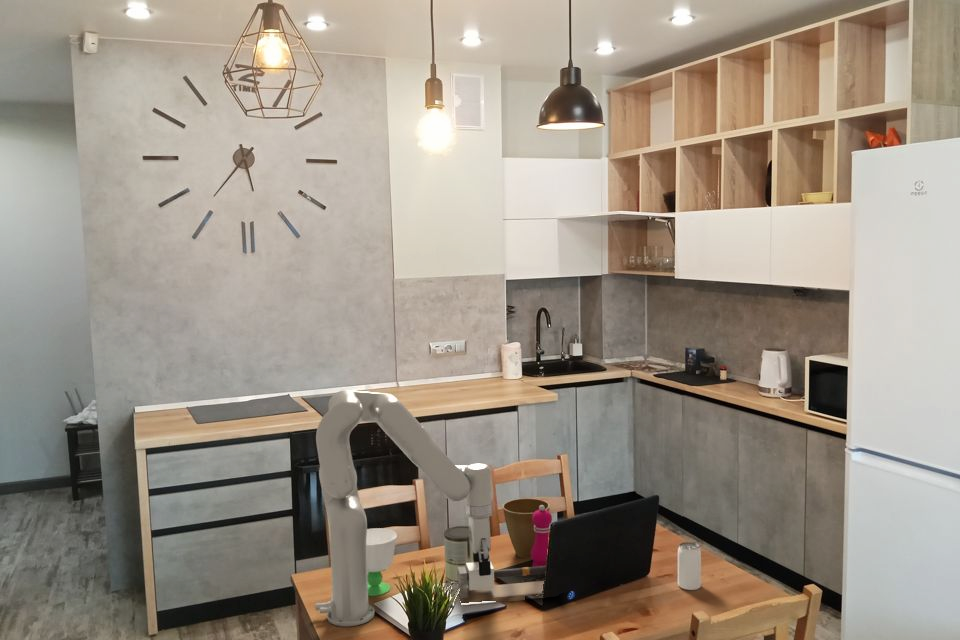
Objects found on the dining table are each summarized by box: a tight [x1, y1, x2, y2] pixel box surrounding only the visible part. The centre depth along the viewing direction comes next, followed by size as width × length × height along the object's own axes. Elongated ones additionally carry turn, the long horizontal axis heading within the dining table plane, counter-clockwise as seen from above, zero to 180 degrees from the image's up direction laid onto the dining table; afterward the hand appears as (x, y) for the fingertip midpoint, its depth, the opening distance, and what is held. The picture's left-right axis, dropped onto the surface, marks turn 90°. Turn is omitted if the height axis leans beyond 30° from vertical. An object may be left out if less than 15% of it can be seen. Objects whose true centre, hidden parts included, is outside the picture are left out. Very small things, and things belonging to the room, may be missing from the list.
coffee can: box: [443, 525, 474, 585], centre depth 239 cm, size 10×10×14 cm
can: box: [677, 541, 702, 591], centre depth 230 cm, size 6×6×12 cm
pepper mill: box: [531, 505, 553, 567], centre depth 244 cm, size 7×7×20 cm
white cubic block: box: [466, 560, 495, 590], centre depth 225 cm, size 7×6×6 cm
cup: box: [366, 527, 398, 597], centre depth 232 cm, size 14×14×16 cm
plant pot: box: [502, 497, 550, 559], centre depth 256 cm, size 15×15×16 cm
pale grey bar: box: [457, 566, 546, 604], centre depth 226 cm, size 28×8×8 cm, turn 100°
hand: (482, 568), depth 225 cm, fingers open, 9 cm apart
